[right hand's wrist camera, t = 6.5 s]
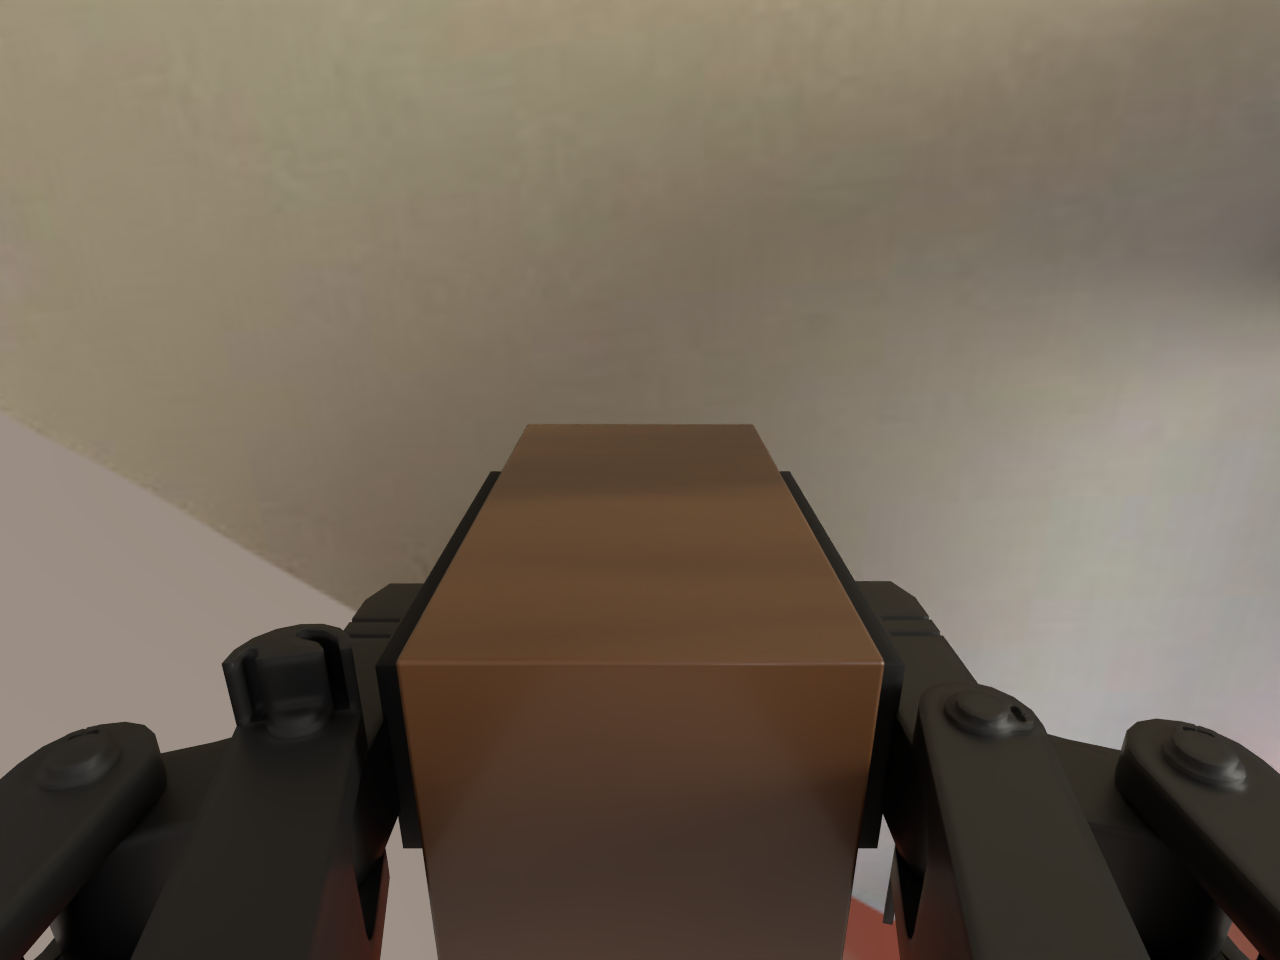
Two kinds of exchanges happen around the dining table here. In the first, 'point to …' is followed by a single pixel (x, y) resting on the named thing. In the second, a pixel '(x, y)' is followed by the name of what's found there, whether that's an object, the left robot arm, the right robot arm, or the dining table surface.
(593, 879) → the block
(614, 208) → the dining table surface
